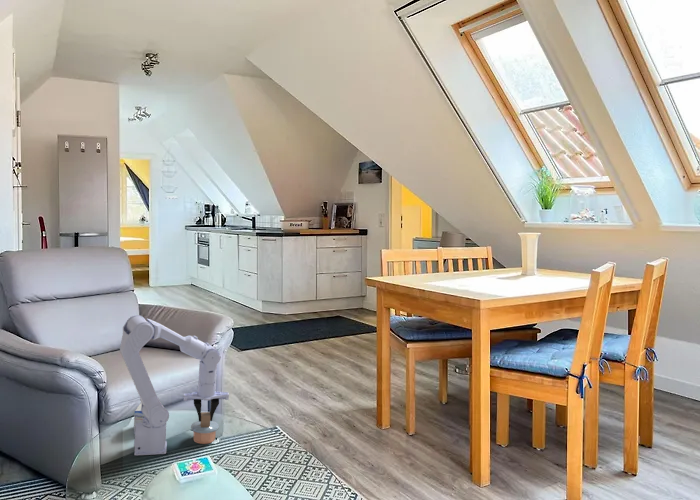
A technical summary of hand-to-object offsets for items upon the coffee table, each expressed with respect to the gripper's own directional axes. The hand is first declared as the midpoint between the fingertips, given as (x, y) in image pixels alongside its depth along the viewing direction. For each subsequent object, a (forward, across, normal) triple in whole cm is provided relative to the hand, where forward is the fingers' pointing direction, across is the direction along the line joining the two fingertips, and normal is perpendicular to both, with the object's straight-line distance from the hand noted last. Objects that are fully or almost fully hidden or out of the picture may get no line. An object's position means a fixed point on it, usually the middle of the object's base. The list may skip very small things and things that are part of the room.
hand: (205, 420), depth 194 cm
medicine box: (+7, -20, +8) cm, 23 cm away
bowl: (+7, 0, 0) cm, 7 cm away
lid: (+3, 0, 0) cm, 3 cm away
